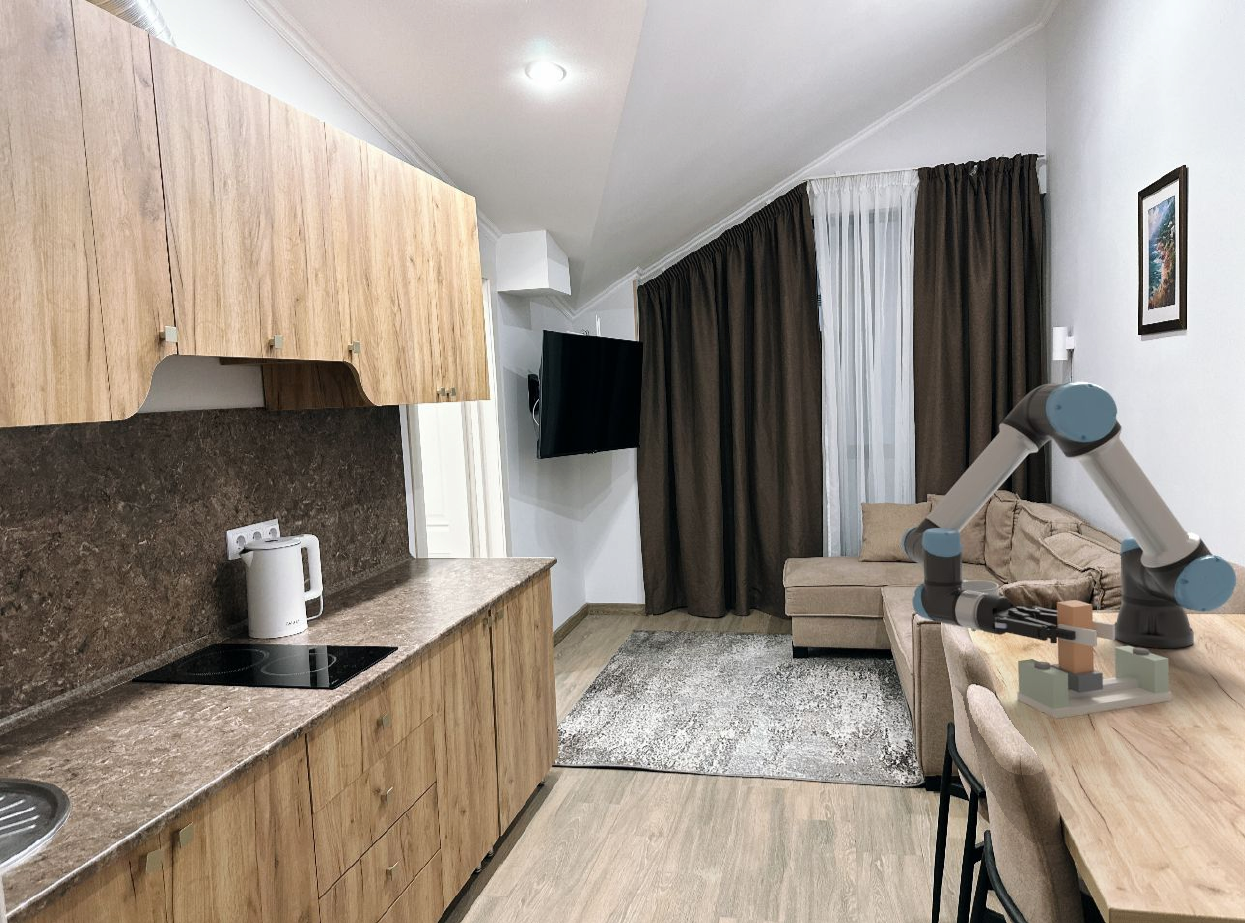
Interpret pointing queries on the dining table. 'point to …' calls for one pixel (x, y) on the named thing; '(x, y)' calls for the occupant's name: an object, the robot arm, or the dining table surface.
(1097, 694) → the rail bed
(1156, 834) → the dining table surface
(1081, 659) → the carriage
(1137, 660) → the end cabinets
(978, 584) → the teacup
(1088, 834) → the dining table surface
